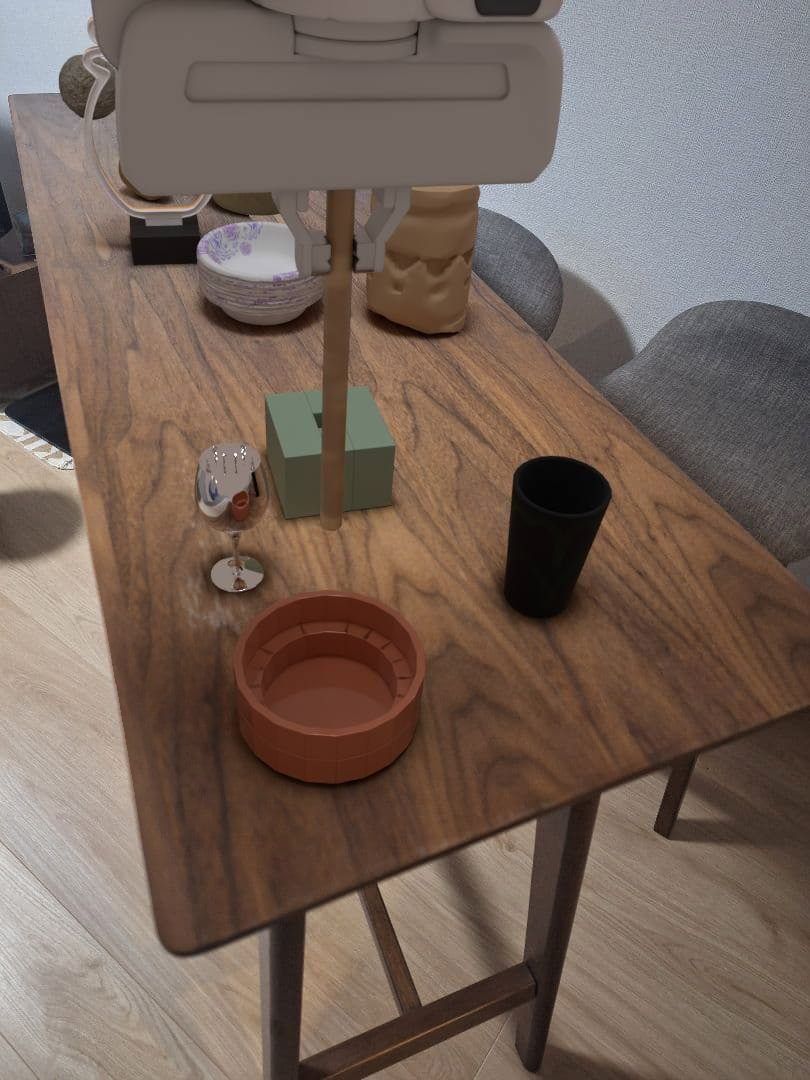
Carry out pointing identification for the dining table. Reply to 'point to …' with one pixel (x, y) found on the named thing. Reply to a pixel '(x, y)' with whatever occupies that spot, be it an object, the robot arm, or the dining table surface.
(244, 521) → the wineglass
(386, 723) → the orange round piece
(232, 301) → the paper bowls
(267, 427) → the stick stand
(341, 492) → the stirring stick
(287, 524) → the dining table surface
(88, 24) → the lamp
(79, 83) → the decorative stone
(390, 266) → the container
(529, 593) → the cup
